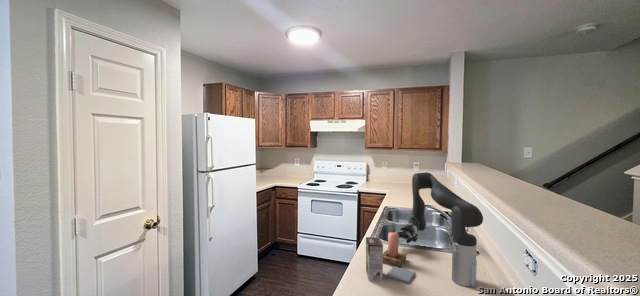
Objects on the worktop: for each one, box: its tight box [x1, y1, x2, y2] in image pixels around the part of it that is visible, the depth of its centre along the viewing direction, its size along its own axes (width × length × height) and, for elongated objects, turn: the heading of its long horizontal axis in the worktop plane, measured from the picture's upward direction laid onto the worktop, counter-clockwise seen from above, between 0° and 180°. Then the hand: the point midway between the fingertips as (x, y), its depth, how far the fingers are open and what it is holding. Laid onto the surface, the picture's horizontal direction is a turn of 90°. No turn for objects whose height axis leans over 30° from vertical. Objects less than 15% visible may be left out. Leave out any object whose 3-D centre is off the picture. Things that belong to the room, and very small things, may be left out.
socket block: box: [383, 249, 407, 268], centre depth 139 cm, size 10×10×3 cm
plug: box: [387, 231, 399, 259], centre depth 139 cm, size 5×5×14 cm
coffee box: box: [365, 236, 384, 282], centre depth 124 cm, size 9×6×16 cm
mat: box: [385, 266, 416, 285], centre depth 125 cm, size 10×10×1 cm
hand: (399, 239), depth 146 cm, fingers open, 8 cm apart
